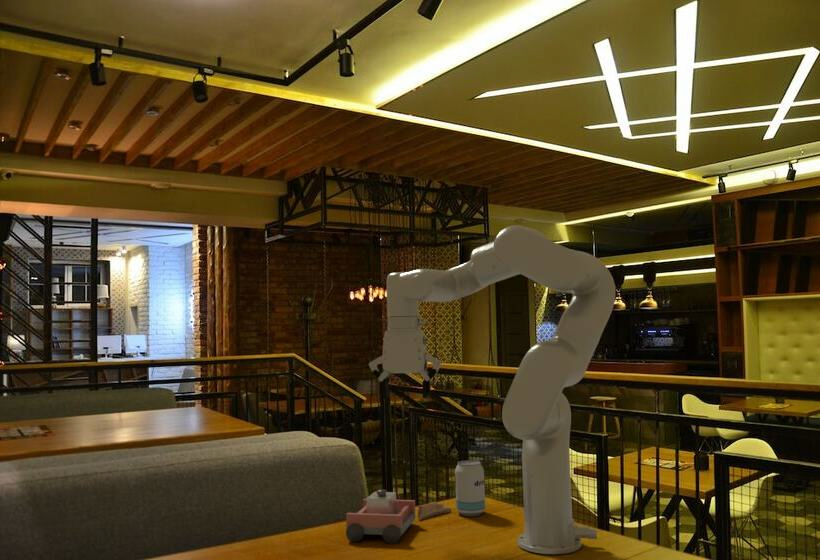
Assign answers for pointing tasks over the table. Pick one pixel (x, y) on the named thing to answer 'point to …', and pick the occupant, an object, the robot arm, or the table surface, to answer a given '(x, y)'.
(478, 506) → the beverage can
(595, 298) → the robot arm
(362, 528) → the chassis
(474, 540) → the table surface
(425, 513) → the shard
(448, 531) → the table surface
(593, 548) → the table surface
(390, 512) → the cube with metal knob
